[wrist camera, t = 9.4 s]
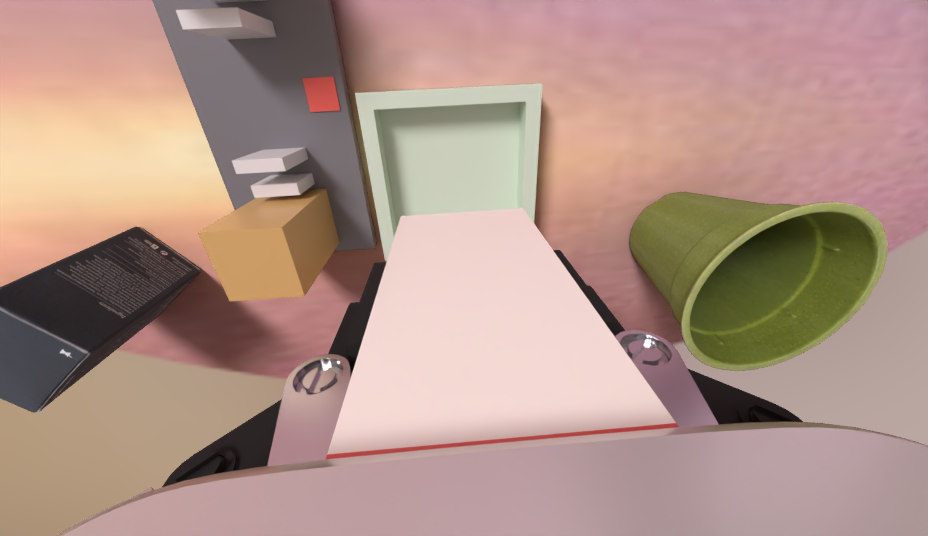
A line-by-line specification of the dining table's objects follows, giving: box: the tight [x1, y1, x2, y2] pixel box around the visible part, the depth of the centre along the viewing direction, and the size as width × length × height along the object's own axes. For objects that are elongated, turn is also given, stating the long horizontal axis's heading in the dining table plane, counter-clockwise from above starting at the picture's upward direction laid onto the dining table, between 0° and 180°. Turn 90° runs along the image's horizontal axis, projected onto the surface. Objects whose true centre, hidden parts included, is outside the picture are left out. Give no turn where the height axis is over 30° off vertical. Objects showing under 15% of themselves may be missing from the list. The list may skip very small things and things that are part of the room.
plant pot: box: [630, 192, 888, 371], centre depth 25 cm, size 12×12×11 cm
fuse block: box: [153, 0, 377, 301], centre depth 19 cm, size 10×23×9 cm, turn 3°
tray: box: [355, 83, 542, 261], centre depth 25 cm, size 12×12×2 cm
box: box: [0, 227, 201, 412], centre depth 24 cm, size 8×6×11 cm
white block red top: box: [326, 208, 679, 459], centre depth 9 cm, size 4×4×10 cm
